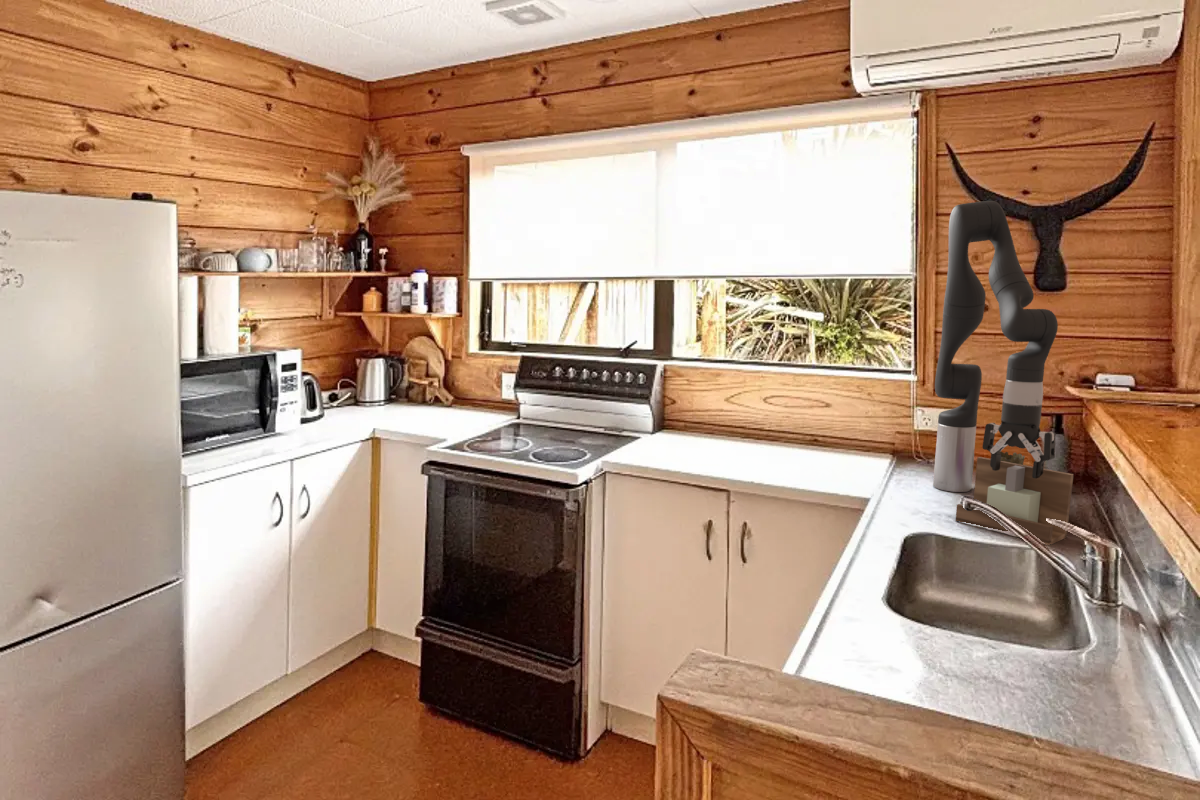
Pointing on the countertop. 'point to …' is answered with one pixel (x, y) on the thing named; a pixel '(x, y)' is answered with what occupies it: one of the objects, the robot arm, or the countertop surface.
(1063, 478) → the wooden tablet stand
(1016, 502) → the tab block
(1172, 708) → the countertop surface
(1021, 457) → the grey-green lumpy piece
